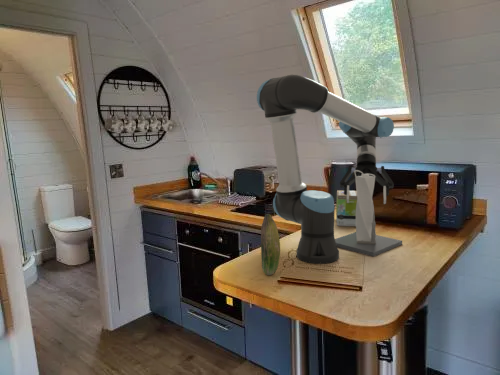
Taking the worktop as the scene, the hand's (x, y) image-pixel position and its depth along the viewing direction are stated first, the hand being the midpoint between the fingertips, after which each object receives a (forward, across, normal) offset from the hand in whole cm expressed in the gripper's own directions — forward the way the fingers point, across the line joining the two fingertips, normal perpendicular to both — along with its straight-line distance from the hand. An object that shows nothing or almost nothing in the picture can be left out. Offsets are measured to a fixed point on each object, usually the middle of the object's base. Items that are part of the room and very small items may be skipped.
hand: (366, 201), depth 147 cm
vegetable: (+38, +29, +13) cm, 50 cm away
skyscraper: (+10, 0, -13) cm, 17 cm away
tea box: (-13, +8, -39) cm, 42 cm away
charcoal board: (+11, 0, -14) cm, 18 cm away
